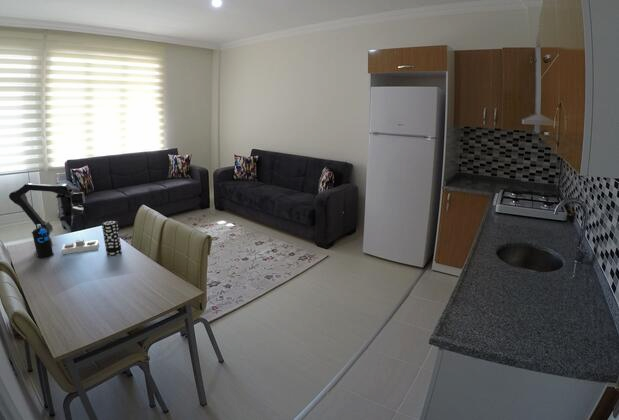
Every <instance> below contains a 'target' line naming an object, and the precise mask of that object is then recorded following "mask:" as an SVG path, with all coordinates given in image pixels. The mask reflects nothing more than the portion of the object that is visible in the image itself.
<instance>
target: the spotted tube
mask: <svg viewBox="0 0 619 420" xmlns="http://www.w3.org/2000/svg"><path fill="white" fill-rule="evenodd" d="M101 229H102V235H103V241H104V246H105V253H106V256H108V257H114V256H119V255H121V254H122V253H123V251H122V245H121V237H120V231H119V225H118V221H117V220H108V221H104V222H102V223H101Z"/></svg>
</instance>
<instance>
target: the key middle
mask: <svg viewBox="0 0 619 420" xmlns="http://www.w3.org/2000/svg"><path fill="white" fill-rule="evenodd" d="M84 242H85V239H84V238H82V239H81V238H80V239H76V240H75V243H76V246H84Z"/></svg>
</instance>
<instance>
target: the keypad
mask: <svg viewBox="0 0 619 420" xmlns="http://www.w3.org/2000/svg"><path fill="white" fill-rule="evenodd" d="M94 240H95V239H94ZM88 241H89V240H87V241H84V246H76V242H72V243H73V245H74V246H73V247H68V248H65V244H66V243H64V244H63V245H62V248H61V254H62V255H67V254H75V253H80V252H87V251H93V250H98V249H99V246H100V243H99V239H97V240H95V243H96V244H91V245H87V242H88Z"/></svg>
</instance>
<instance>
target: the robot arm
mask: <svg viewBox="0 0 619 420" xmlns="http://www.w3.org/2000/svg"><path fill="white" fill-rule="evenodd" d="M29 191H34V192H35V191H37V192H51V193H55V194H57V195H56V196H55V198H56V199H59V200H60V201H59V202H60V209H61V210H62V212H61V214H62V215H60V217H59V222H65V224H66V225H68V227H69V228H72V227H73V220H74V218H75V216H76V215H75V214H78V215H83V213H84V207H83V205H80V204H85V203H86V196H85V194H84V192H83V191H80V192H75V191H74V190H73V189H72V188H71V186H70V185H69V184H68V183H57V184H48V183H47V184H46V183H45V184H44V183H31V182H26V183H25V184H23V186H21V187H19V188H18V189H15V190H14V191H12V192H10V193H9V196H8V198H9V200H11V201H12V202H13V203H14V204H15V205H17V206H19V207H20V208H21V210H22V211H24V213H25V214H26V216H28V218H29V219H30V220H31V222H33V224H34V225H35V229H37V225H38V224H41V227H42V228H46V229H48V230H49V231H48V232H49V237H50V241H51V246H53V239H52V238H51V233H52V232H53V231H54V230H53V229H54V228H53V225H52V224H51V223H50V222H49V221H44V220H43V219H42V217H41V216H40V215H39V214H38V213H37V211H36V210H35V209H34V208H33V207H32V205H31V204H30V202H29V201H28V197H27V196H26V195H27V193H28V192H29ZM74 204H78V205H77V206H75V205H74Z"/></svg>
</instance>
